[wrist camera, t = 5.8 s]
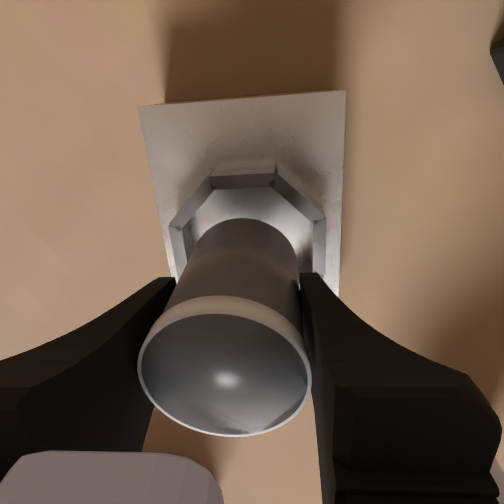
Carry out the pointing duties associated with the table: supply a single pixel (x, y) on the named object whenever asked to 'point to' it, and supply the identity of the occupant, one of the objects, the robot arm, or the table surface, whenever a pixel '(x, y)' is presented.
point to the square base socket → (251, 171)
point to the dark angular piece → (498, 57)
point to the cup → (231, 336)
